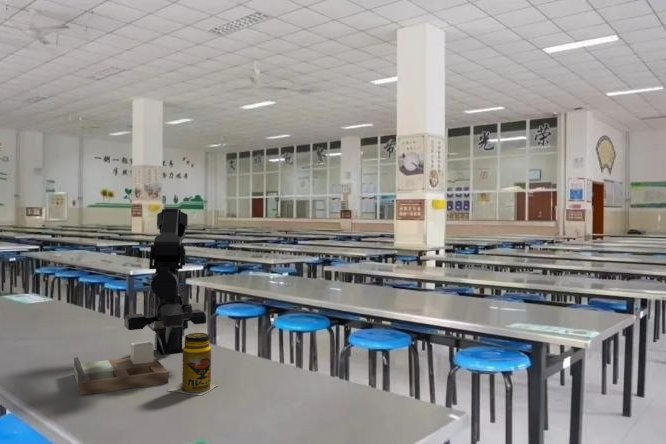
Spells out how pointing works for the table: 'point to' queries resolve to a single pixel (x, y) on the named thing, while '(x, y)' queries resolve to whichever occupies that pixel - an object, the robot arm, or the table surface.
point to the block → (141, 352)
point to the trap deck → (117, 375)
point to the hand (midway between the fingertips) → (165, 353)
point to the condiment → (196, 365)
